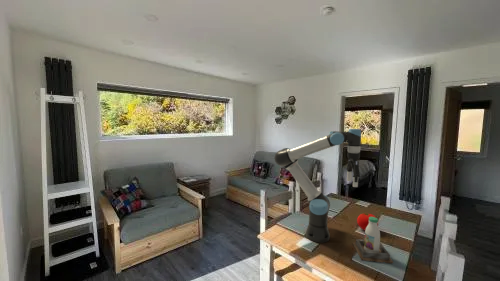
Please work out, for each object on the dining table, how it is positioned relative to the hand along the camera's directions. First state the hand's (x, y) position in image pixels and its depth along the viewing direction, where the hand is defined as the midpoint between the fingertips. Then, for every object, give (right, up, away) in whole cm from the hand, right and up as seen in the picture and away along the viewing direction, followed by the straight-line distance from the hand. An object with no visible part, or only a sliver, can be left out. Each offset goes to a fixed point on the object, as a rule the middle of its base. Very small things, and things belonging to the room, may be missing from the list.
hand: (352, 183), depth 144 cm
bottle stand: (+3, -37, -18) cm, 41 cm away
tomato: (+15, -34, +9) cm, 38 cm away
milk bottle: (+3, -36, -18) cm, 40 cm away
